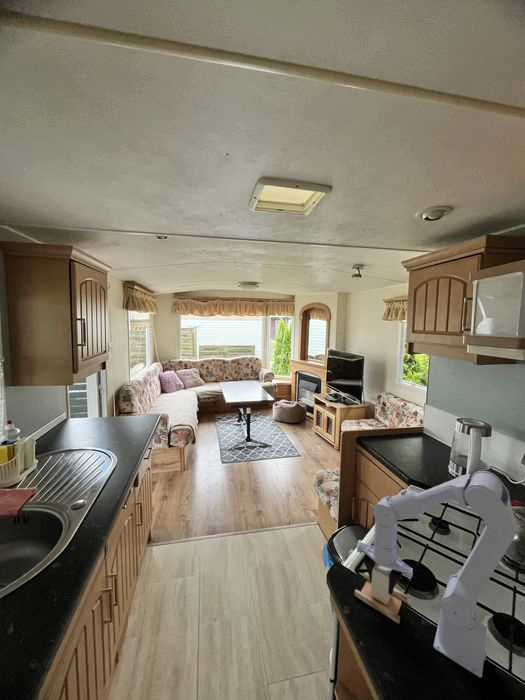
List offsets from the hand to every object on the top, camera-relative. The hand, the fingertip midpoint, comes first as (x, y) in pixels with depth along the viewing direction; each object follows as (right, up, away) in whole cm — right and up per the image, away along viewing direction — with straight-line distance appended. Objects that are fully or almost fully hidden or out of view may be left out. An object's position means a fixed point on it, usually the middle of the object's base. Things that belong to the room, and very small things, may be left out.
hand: (381, 586), depth 84 cm
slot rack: (+2, -3, +3) cm, 5 cm away
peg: (0, -3, 0) cm, 3 cm away
